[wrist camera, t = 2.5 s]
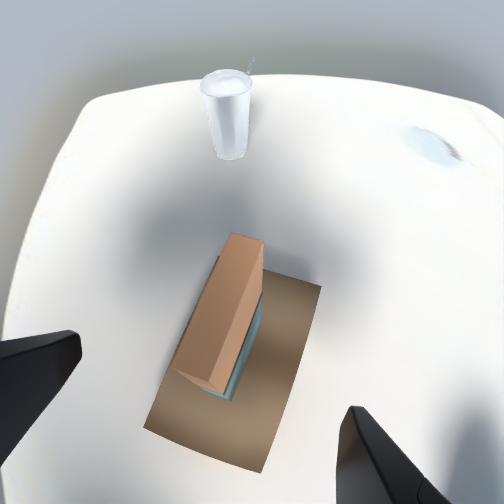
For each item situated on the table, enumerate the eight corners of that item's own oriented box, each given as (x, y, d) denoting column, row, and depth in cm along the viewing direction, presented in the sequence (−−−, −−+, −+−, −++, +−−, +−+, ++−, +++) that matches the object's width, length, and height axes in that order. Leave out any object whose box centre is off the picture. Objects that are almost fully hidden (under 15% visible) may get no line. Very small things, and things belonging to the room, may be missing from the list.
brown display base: (259, 466, 16) (262, 490, 9) (158, 427, 17) (108, 425, 11) (313, 304, 22) (337, 247, 15) (222, 276, 23) (209, 213, 16)
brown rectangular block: (222, 394, 11) (208, 382, 8) (195, 384, 12) (170, 367, 8) (261, 290, 14) (264, 241, 11) (237, 283, 14) (231, 232, 11)
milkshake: (268, 150, 30) (270, 63, 22) (225, 171, 29) (216, 79, 20) (242, 130, 32) (238, 50, 24) (201, 149, 31) (188, 65, 22)
